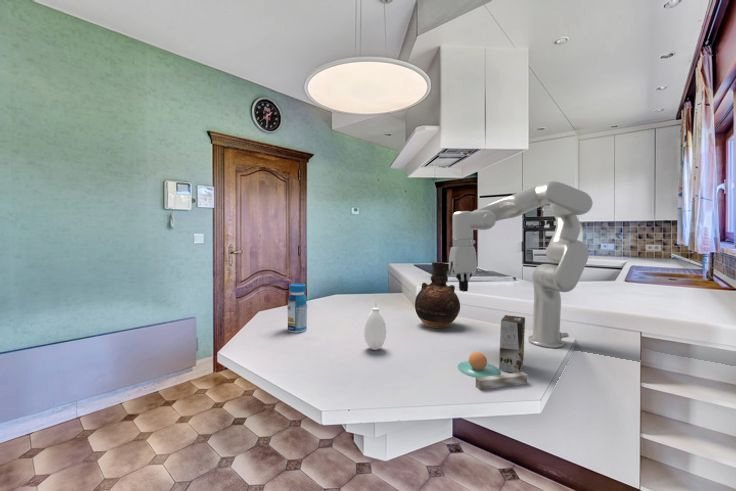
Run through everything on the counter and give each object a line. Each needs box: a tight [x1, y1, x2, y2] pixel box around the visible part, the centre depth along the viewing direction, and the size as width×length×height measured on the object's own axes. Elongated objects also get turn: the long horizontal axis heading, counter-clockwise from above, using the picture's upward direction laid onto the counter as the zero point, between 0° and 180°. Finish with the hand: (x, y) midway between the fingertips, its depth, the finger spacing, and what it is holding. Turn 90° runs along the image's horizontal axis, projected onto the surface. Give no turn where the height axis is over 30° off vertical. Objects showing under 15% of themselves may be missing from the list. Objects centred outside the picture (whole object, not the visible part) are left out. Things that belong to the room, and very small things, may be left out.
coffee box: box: [498, 314, 526, 374], centre depth 108 cm, size 9×6×16 cm
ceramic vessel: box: [414, 261, 461, 329], centre depth 153 cm, size 21×18×30 cm
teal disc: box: [457, 360, 502, 378], centre depth 106 cm, size 13×13×1 cm
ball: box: [468, 351, 488, 370], centre depth 106 cm, size 6×6×6 cm
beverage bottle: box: [287, 283, 308, 334], centre depth 143 cm, size 8×8×20 cm
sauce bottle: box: [363, 301, 387, 351], centre depth 122 cm, size 8×8×18 cm
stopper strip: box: [475, 371, 528, 391], centre depth 95 cm, size 16×2×2 cm, turn 106°
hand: (463, 290), depth 128 cm, fingers closed
